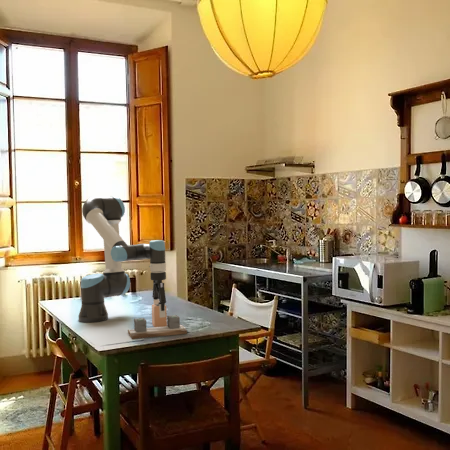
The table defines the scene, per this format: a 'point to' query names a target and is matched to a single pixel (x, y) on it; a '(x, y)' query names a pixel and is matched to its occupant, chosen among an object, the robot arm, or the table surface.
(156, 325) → the block
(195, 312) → the table surface
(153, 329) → the wooden fixture stand
